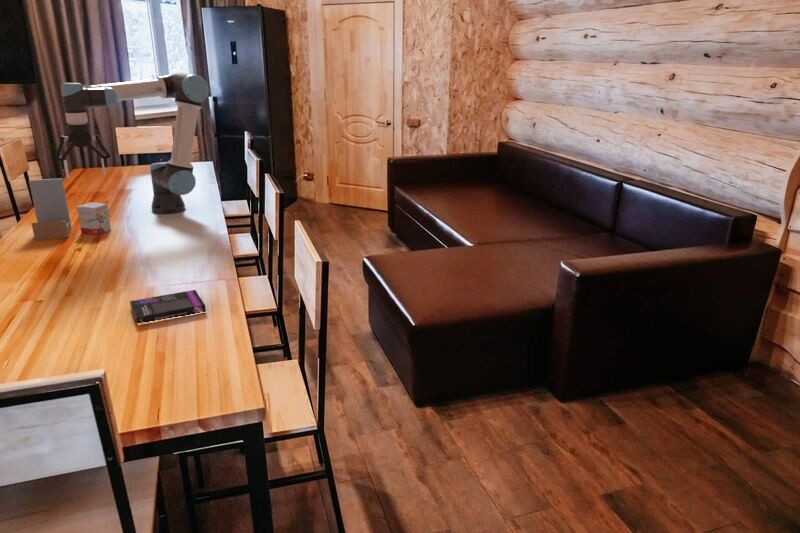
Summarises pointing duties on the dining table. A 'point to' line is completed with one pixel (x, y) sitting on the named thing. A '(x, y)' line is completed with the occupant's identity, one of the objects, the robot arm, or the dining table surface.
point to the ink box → (93, 218)
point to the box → (167, 306)
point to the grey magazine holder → (50, 209)
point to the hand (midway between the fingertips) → (86, 175)
